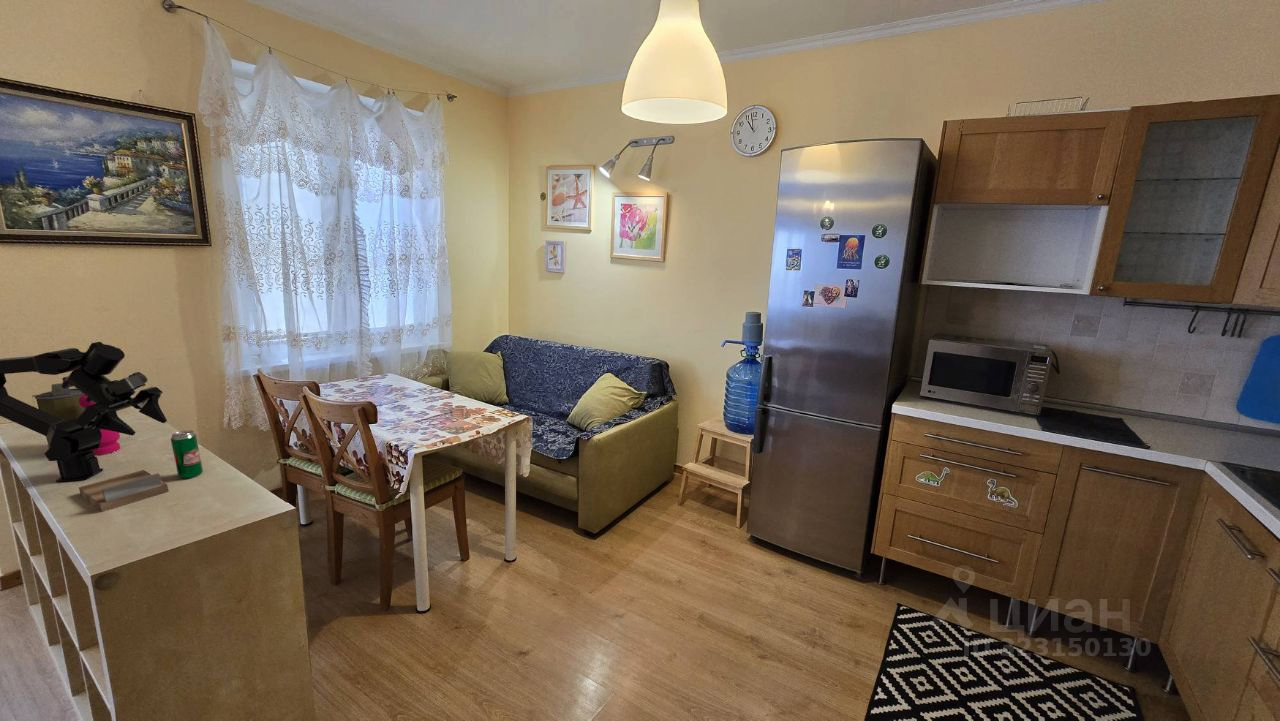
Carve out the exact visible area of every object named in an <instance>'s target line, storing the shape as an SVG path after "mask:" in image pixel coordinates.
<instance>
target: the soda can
mask: <svg viewBox="0 0 1280 721" xmlns="http://www.w3.org/2000/svg"><path fill="white" fill-rule="evenodd" d="M170 441H171V447H172V452H173V456H174V457H173V458H174V462H175V468H176V473H177V477H178V478H180V479H183V480H186V479H188V478H189V479H193V478H192V477H194V478H196V477H195V476H197V477H199V476H200V475H202V474H203V472H204V470H203V465H202V464H203V463H202V458H201V453H200V448H199V443H198V436H197V434H196V433H195V432H194V430H191V429H190V430H187V429H186V430H181V431H177V432H174V433H172V434H171V438H170ZM198 475H199V476H198Z"/></svg>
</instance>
